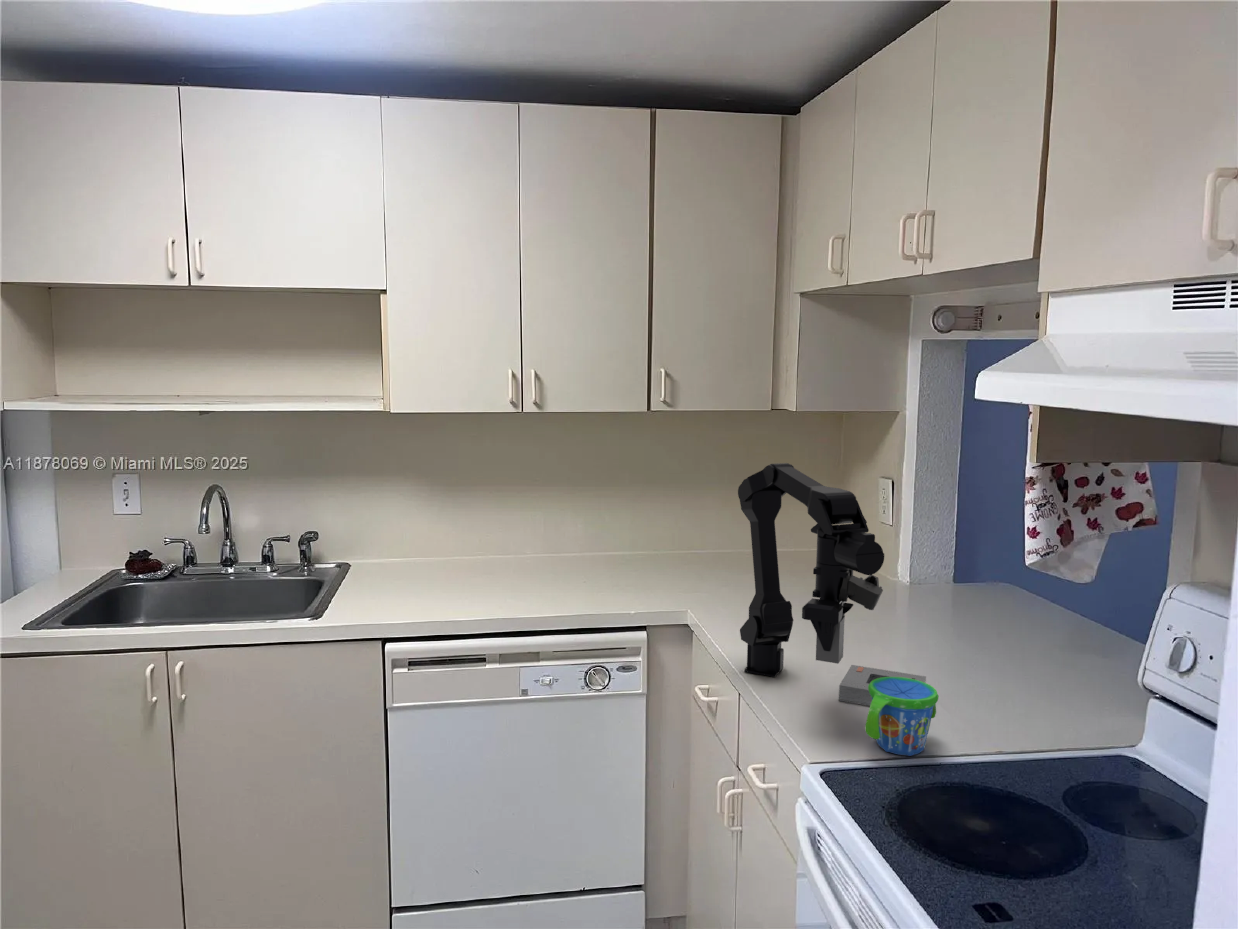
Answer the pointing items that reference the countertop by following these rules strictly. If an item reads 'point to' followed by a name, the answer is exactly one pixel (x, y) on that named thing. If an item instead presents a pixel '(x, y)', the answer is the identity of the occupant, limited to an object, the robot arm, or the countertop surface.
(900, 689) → the snack cup
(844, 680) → the socket plate
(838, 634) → the plug
